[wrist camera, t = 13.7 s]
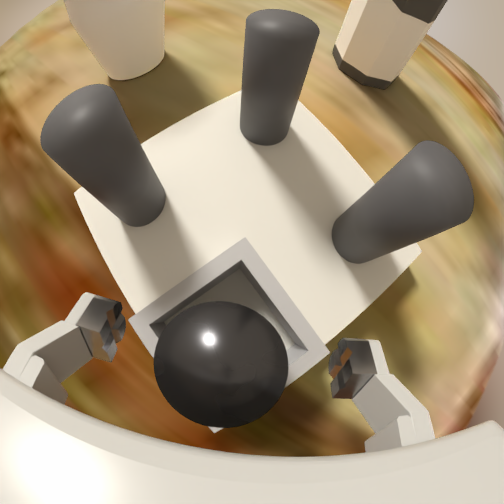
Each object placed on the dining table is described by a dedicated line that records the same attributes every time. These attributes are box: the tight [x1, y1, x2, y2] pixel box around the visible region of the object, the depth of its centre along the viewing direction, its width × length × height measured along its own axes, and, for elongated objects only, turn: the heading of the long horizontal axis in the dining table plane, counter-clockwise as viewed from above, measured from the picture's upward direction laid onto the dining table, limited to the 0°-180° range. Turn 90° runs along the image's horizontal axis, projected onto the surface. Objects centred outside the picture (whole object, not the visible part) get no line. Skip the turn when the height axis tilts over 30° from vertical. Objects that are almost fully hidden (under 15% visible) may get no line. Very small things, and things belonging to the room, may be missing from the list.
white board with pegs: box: [41, 9, 474, 433], centre depth 14 cm, size 18×18×12 cm
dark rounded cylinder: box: [154, 301, 288, 428], centre depth 11 cm, size 4×4×9 cm
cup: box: [64, 0, 165, 80], centre depth 16 cm, size 9×9×12 cm
